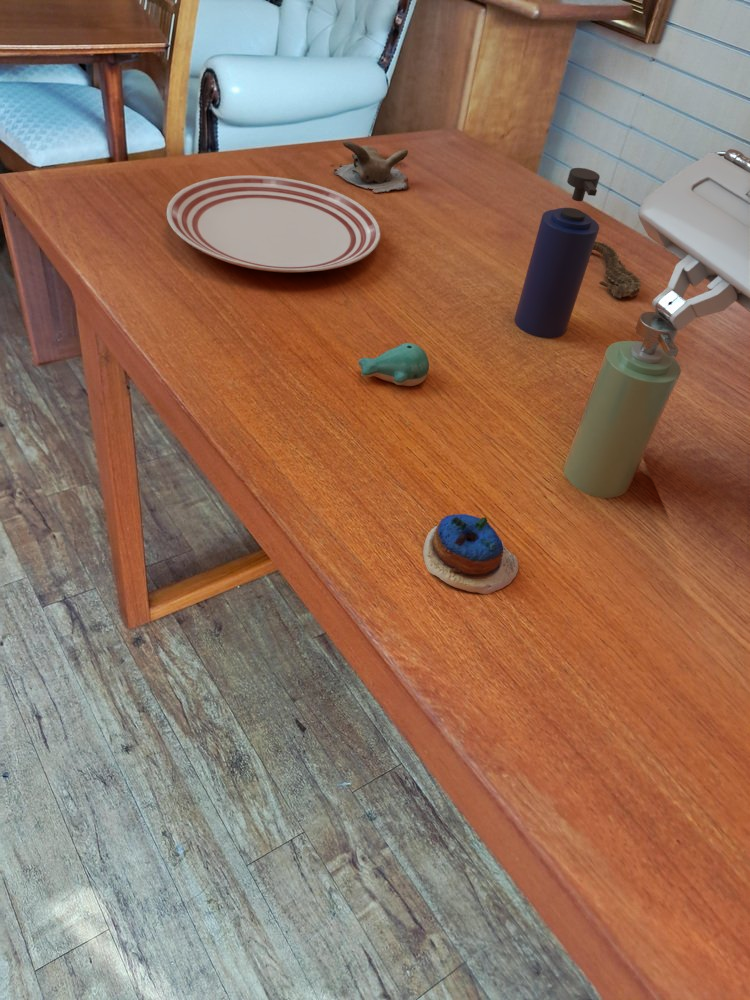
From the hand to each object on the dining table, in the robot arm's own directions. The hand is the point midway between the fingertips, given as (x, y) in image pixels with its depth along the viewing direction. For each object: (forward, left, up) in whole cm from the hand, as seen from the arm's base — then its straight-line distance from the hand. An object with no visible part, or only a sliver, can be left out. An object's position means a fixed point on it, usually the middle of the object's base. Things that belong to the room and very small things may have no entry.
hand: (664, 317), depth 64 cm
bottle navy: (0, -28, -17) cm, 33 cm away
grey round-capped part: (0, +1, -3) cm, 3 cm away
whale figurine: (+19, -14, -18) cm, 30 cm away
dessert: (+14, +12, -18) cm, 25 cm away
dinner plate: (+33, -44, -17) cm, 58 cm away
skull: (+19, -69, -17) cm, 74 cm away
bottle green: (0, 0, -17) cm, 17 cm away
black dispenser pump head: (0, -27, -2) cm, 27 cm away
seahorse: (-12, -43, -18) cm, 48 cm away
